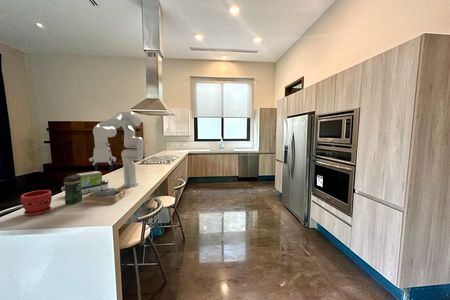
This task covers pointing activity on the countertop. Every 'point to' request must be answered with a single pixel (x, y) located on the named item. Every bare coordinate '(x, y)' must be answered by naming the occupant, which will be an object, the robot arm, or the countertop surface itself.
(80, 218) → the countertop surface
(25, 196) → the plant pot
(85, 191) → the tea box
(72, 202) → the coffee jar
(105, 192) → the inlet socket
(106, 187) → the salt shaker
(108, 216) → the countertop surface
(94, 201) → the oak crate
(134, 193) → the countertop surface
